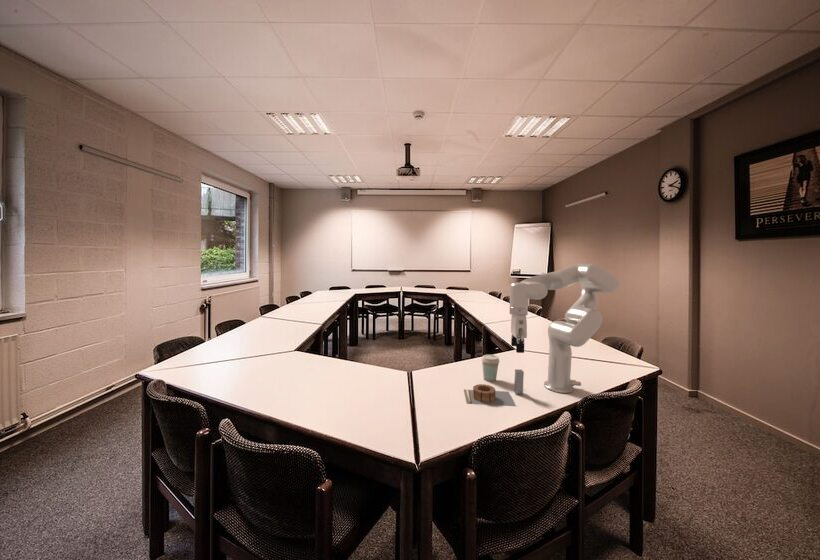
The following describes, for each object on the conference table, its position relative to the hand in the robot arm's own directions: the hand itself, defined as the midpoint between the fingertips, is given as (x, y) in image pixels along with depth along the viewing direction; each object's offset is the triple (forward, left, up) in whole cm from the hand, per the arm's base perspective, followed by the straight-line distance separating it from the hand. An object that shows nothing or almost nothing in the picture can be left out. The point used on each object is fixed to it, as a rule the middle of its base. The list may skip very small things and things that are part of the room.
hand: (517, 349), depth 142 cm
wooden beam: (-1, +1, -21) cm, 21 cm away
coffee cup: (+9, -14, -21) cm, 27 cm away
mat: (+13, +6, -21) cm, 25 cm away
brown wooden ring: (+15, +7, -20) cm, 26 cm away
